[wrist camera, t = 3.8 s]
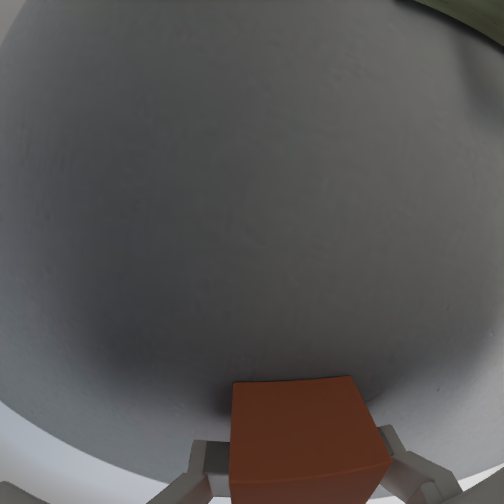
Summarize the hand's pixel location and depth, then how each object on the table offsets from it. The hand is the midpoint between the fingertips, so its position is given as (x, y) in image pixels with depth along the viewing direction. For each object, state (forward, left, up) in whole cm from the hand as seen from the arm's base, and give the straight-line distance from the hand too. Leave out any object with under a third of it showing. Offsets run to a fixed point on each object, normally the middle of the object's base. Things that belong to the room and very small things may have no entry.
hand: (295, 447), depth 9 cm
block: (0, 0, -2) cm, 2 cm away
